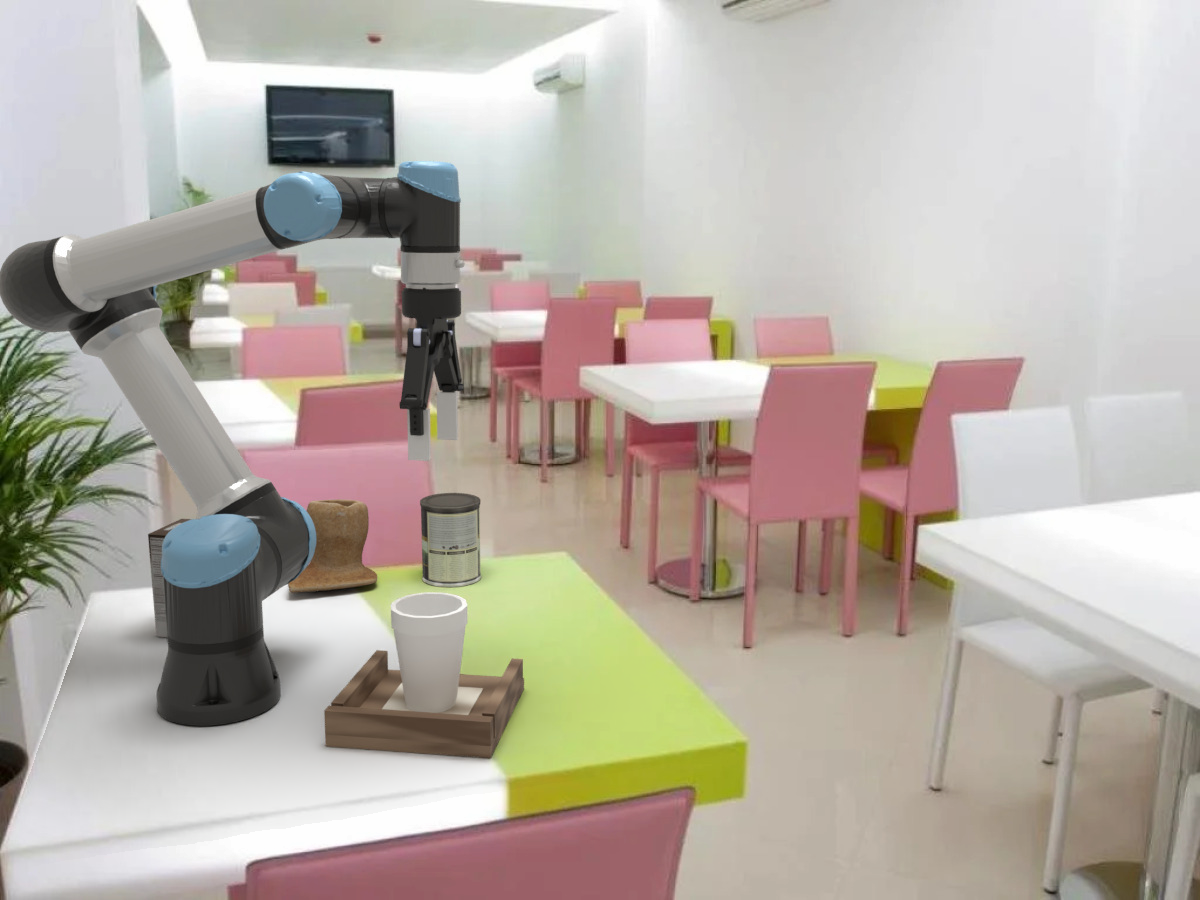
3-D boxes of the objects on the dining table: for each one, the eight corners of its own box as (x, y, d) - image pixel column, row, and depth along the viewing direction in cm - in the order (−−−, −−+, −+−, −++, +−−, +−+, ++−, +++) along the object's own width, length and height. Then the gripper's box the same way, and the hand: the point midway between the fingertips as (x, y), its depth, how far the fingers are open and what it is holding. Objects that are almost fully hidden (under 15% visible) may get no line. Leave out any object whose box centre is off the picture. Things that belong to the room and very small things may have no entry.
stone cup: (369, 571, 200) (366, 488, 197) (382, 591, 189) (380, 504, 186) (281, 580, 194) (276, 495, 191) (289, 602, 183) (285, 512, 180)
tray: (379, 679, 153) (378, 648, 152) (524, 688, 151) (524, 656, 150) (325, 746, 134) (324, 710, 133) (490, 758, 131) (490, 722, 130)
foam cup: (380, 699, 143) (377, 601, 140) (444, 681, 148) (442, 587, 146) (416, 725, 136) (414, 623, 133) (482, 706, 141) (481, 607, 138)
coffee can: (409, 578, 196) (407, 499, 193) (456, 565, 203) (455, 489, 201) (446, 591, 189) (445, 510, 186) (493, 578, 196) (492, 500, 194)
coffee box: (188, 616, 176) (181, 517, 173) (225, 619, 175) (219, 519, 172) (154, 637, 167) (146, 533, 164) (193, 640, 166) (186, 536, 163)
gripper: (433, 293, 131) (436, 470, 136) (482, 281, 155) (484, 432, 160) (370, 291, 132) (376, 468, 136) (429, 280, 156) (432, 430, 161)
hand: (434, 449), depth 148 cm, fingers open, 13 cm apart
